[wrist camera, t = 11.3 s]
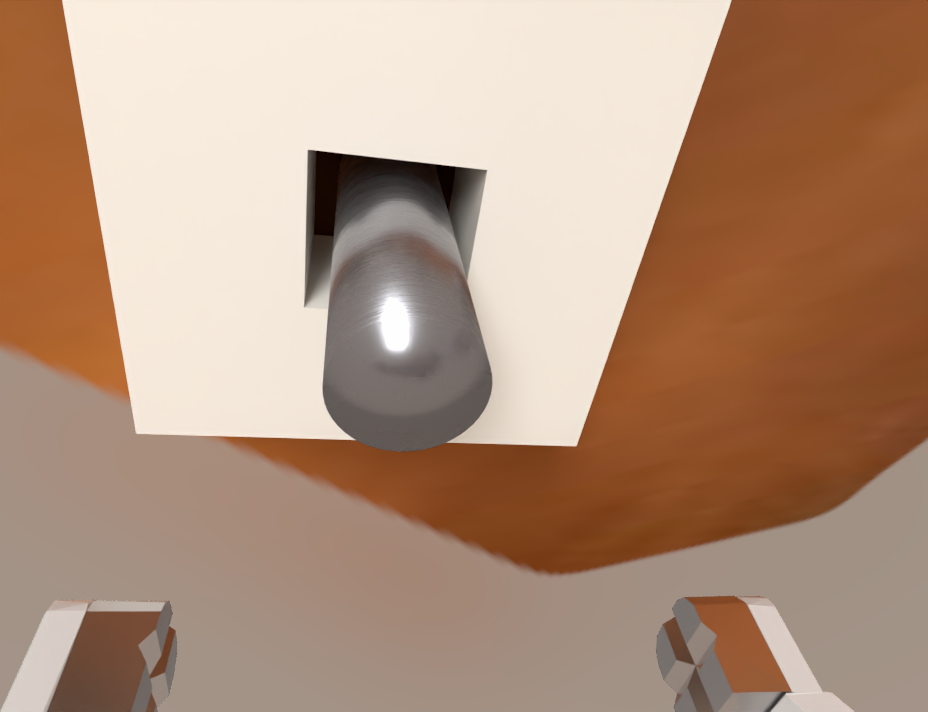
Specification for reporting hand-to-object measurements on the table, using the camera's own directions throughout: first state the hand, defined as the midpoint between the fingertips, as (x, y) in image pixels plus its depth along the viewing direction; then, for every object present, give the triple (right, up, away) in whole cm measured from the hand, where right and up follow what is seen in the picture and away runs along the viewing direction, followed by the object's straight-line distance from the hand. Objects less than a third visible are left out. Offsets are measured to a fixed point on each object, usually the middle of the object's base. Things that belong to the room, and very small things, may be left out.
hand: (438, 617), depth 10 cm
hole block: (-3, +12, +16) cm, 20 cm away
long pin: (-3, +12, +16) cm, 20 cm away
